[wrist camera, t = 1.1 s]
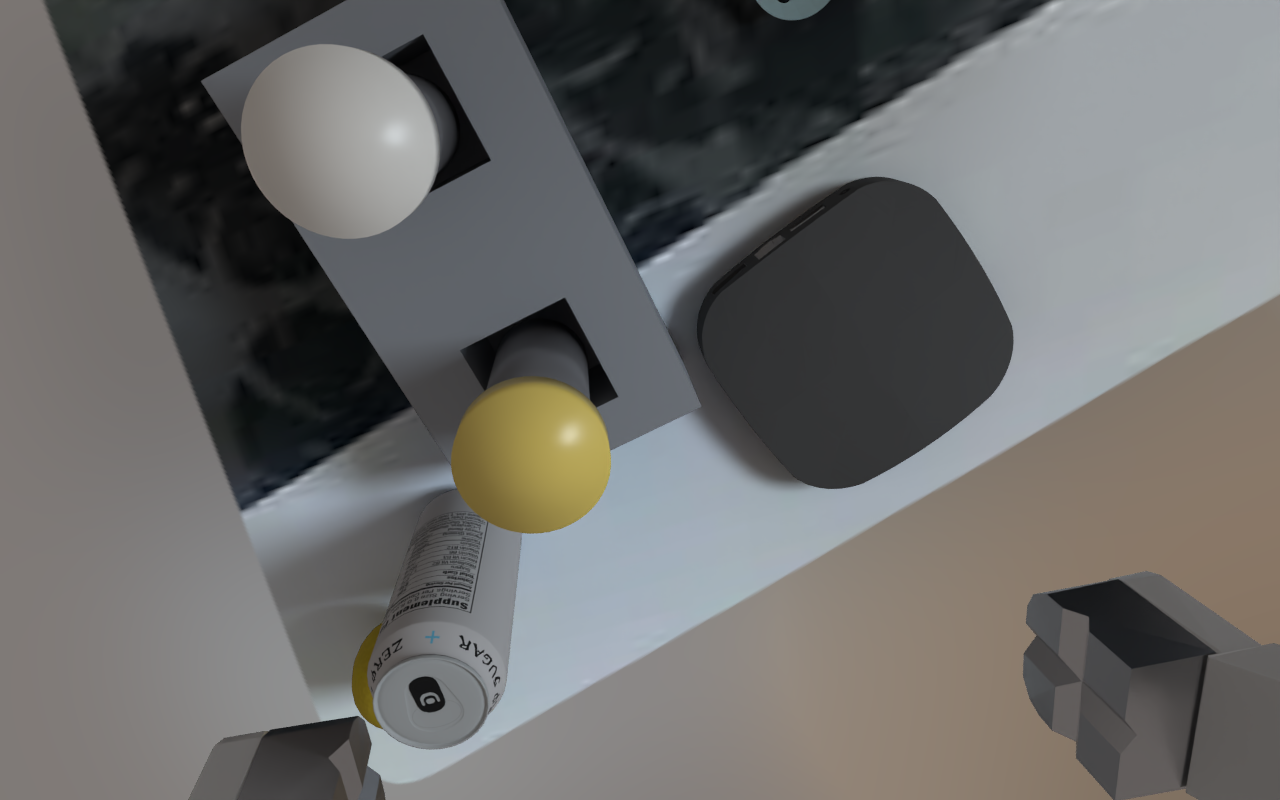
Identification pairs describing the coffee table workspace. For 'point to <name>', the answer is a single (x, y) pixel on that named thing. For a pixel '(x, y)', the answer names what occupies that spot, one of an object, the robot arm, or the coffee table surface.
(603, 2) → the coffee table surface
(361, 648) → the lemon
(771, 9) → the pacifier
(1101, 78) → the coffee table surface
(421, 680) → the energy drink can
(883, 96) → the coffee table surface
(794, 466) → the media streaming box
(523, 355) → the knob mustard
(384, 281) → the mount
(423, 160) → the knob white
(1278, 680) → the robot arm
